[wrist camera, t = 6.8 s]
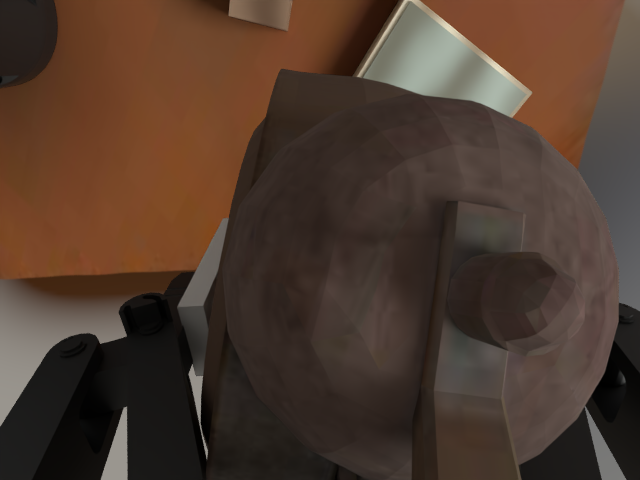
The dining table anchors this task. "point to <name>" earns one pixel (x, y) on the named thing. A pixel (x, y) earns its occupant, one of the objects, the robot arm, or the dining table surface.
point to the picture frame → (437, 61)
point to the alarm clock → (401, 291)
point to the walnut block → (262, 12)
